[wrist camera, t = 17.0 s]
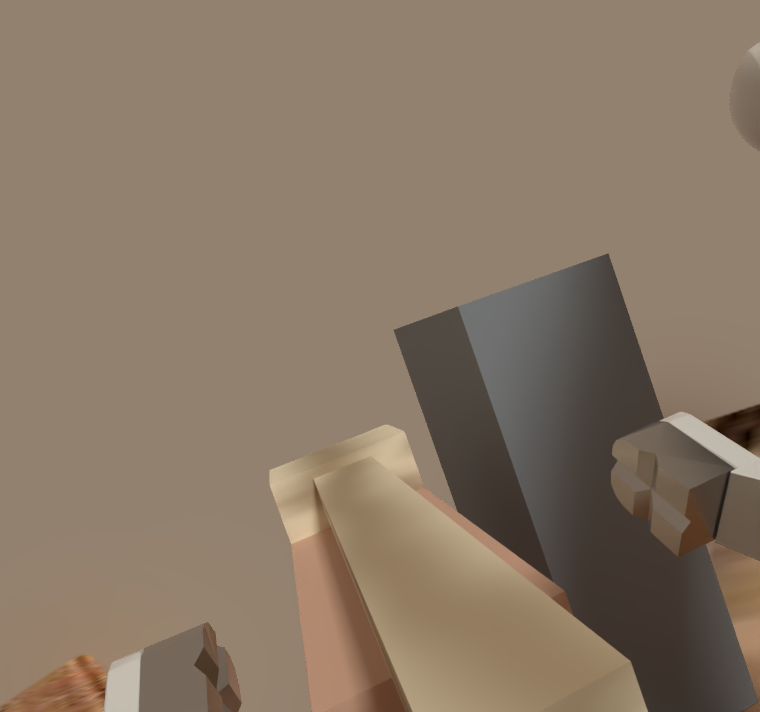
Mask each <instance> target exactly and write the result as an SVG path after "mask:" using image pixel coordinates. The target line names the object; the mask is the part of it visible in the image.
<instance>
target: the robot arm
mask: <svg viewBox="0 0 760 712" xmlns="http://www.w3.org/2000/svg"><path fill="white" fill-rule="evenodd" d="M730 110H731V116H732V119H733V122H734V125H735V127H736V129H737V130H738V132H739V133H740V135H741V136H742V138H743V139H744V140H746V142H747V143H748V144H749V145H751V146H752V147H753V148H755V149H757V150H758V151H760V42H759V43H758V44H756V45H755V46H753V47H752V48H751V49H749V50H748V51H747V52H746V53H745V55H744V57H743V58H742V60H741V62H740V64H739V66H738V68H737V70H736V73H735V75H734V78H733V82H732V86H731V92H730ZM612 456H614V457H615V458H616V459H617V460H618V461H617V462H616V464H615V466H614V467H613V469H612V471H611V485H612V487H613V490H614V492H615V495H616V497H617V498H618V500H619V501H620V502H621V504H622V505H623V506H624V507H625V508H626V509H627V510H628V511H629V512H630V513H631V514H632V515H634V516H637V517H640V518H643V519H646V520H648V523H649V528H650V532H651V533H652V534H653V535H655V536H656V537H657V538H658V539H659V540H660V541H661V542H662V543H663V544H664V545H665V546H667V547H668V548H669V549H670V550H671V551H672V552H673V553H674V554H675V555H676V556H677V557H679V556H681V555H683V554H686V553H688V552H690V551H692V550H694V549H696V548H698V547H700V546H702V545H705V544H707V543H709V542H711V541H713V540H715V539H716V541H715V542H716V543H718V544H721V545H723V546H726V547H728V548H730V549H733V550H735V551H737V552H740V553H742V554H745V555H747V556H749V557H752V558H754V559H756V560H759V561H760V458H758V457H757V456H755V455H754V454H752V453H750V452H749V451H747V450H746V449H744V448H743V447H741V446H739V445H738V444H736V443H735V442H733V441H732V440H730V439H728V438H727V437H725V436H724V435H722V434H720V433H719V432H717V431H716V430H714V429H713V428H711V427H709V426H708V425H706V424H705V423H703V422H702V421H700V420H698V419H697V418H695V417H694V416H692V415H691V414H688V413H685V412H678V413H676V414H673V415H671V416H669V417H667V418H664V419H662V420H660V421H658V422H654V423H652V424H650V425H647V426H645V427H643V428H641V429H639V430H637V431H634V432H632V433H630V434H628V435H626V436H624V437H621V438H619V439H617V440H616V441H615V443H614V444H613V448H612ZM240 706H241V696H240V689H239V684H238V679H237V675H236V672H235V668H234V665H233V663H232V660H231V658H230V656H229V654H228V652H227V651H226V649H225V648H224V647H219V646H217V644H216V635H215V632H214V630H213V629H212V627H211V626H210V625H209V623H208V622H207V623H204V624H202V625H200V626H197V627H195V628H192V629H190V630H188V631H185V632H183V633H180V634H178V635H175V636H173V637H171V638H168V639H166V640H163V641H161V642H158V643H156V644H153V645H151V646H149V647H147V648H144V649H142V650H139V651H137V652H135V653H132V654H130V655H128V656H125V657H123V658H121V659H119V660H116V661H114V662H112V664H111V667H110V669H109V672H108V674H107V683H106V693H105V703H104V712H238V711H239V708H240Z"/></svg>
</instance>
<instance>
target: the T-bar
mask: <svg viewBox="0 0 760 712" xmlns="http://www.w3.org/2000/svg"><path fill="white" fill-rule="evenodd" d="M270 487H271V490H272V493H273V495H274V498H275V501H276V504H277V506H278V509H279V512H280V515H281V517H282V520H283V523H284V525H285V528H286V531H287V534H288V536H289V539H290V542H291V544H293V543H295V542H297V541H300V540H302V539H304V538H307V537H309V536H312V535H314V534H316V533H319V532H321V531H323V530H326V529H328V528H330V527H331V529H332V531H333V534H334V536H335V539H336V541H337V544H338V546H339V549H340V551H341V554H342V556H343V559H344V561H345V563H346V566H347V568H348V571H349V573H350V576H351V578H352V581H353V583H354V586H355V588H356V591H357V593H358V595H359V598H360V600H361V603H362V605H363V608H364V610H365V613H366V615H367V618H368V620H369V623H370V625H371V628H372V630H373V632H374V635H375V637H376V640H377V642H378V645H379V647H380V650H381V652H382V655H383V657H384V660H385V662H386V664H387V667H388V669H389V672H390V674H391V677H392V679H393V682H394V684H395V687H396V689H397V692H398V694H399V696H400V699H401V701H402V704H403V706H404V709H405V711H406V712H648V710H647V708H646V705H645V702H644V699H643V696H642V693H641V690H640V687H639V684H638V681H637V678H636V675H635V673H634V670H633V667H632V664H631V661H630V660H629V659H627V658H626V657H625V656H623V655H622V654H621V653H620V652H618V651H617V650H616V649H615V648H613V647H612V646H611V645H610V644H608V643H607V642H606V641H604V640H603V639H602V638H601V637H599V636H598V635H597V634H596V633H594V632H593V631H592V630H591V629H589V628H588V627H587V626H586V625H584V624H583V623H582V622H580V621H579V620H578V619H577V618H575V617H574V616H573V615H572V614H570V613H569V612H568V611H567V610H565V609H564V608H563V607H561V606H560V605H559V604H558V603H556V602H555V601H554V600H553V599H551V598H550V597H549V596H548V595H546V594H545V593H544V592H543V591H541V590H540V589H539V588H537V587H536V586H535V585H534V584H532V583H531V582H530V581H529V580H527V579H526V578H525V577H524V576H522V575H521V574H520V573H518V572H517V571H516V570H515V569H513V568H512V567H511V566H510V565H508V564H507V563H506V562H505V561H503V560H502V559H501V558H500V557H498V556H497V555H496V554H494V553H493V552H492V551H491V550H489V549H488V548H487V547H486V546H484V545H483V544H482V543H481V542H479V541H478V540H477V539H476V538H474V537H473V536H472V535H470V534H469V533H468V532H467V531H465V530H464V529H463V528H462V527H460V526H459V525H458V524H457V523H455V522H454V521H453V520H451V519H450V518H449V517H448V516H446V515H445V514H444V513H443V512H441V511H440V510H439V509H438V508H436V507H435V506H434V505H433V504H431V503H430V502H429V501H427V500H426V499H425V498H424V497H422V496H421V495H420V494H419V493H417V492H416V491H417V490H419V489H422V488H424V486H423V483H422V480H421V477H420V474H419V471H418V469H417V466H416V463H415V461H414V457H413V454H412V452H411V449H410V446H409V443H408V440H407V438H406V435H405V432H404V431H402V430H399V429H397V428H395V427H392V426H390V425H388V424H386V425H384V426H381V427H379V428H376V429H373V430H371V431H368V432H366V433H363V434H361V435H358V436H356V437H353V438H351V439H348V440H345V441H343V442H340V443H338V444H335V445H333V446H330V447H328V448H325V449H323V450H320V451H318V452H315V453H312V454H310V455H307V456H305V457H302V458H300V459H297V460H294V461H292V462H289V463H287V464H285V465H282V466H279V467H277V468H274V469H272V470H270Z"/></svg>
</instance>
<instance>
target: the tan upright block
mask: <svg viewBox="0 0 760 712" xmlns="http://www.w3.org/2000/svg"><path fill="white" fill-rule="evenodd" d="M416 492H417V493H419V494H420V495H421V496H422V497H424V498H425V499H426V500H427V501H429V502H430V503H431V504H433V505H434V506H435V507H436V508H438V509H439V510H440V511H441V512H443V513H444V514H445V515H446V516H448V517H449V518H450V519H451V520H453V521H454V522H455V523H457V524H458V525H459V526H460V527H462V528H463V529H464V530H465V531H467V532H468V533H469V534H470V535H472V536H473V537H474V538H476V539H477V540H478V541H479V542H481V543H482V544H483V545H484V546H486V547H487V548H488V549H489V550H491V551H492V552H493V553H494V554H496V555H497V556H498V557H500V558H501V559H502V560H503V561H505V562H506V563H507V564H508V565H510V566H511V567H512V568H513V569H515V570H516V571H517V572H518V573H520V574H521V575H522V576H524V577H525V578H526V579H527V580H529V581H530V582H531V583H532V584H534V585H535V586H536V587H537V588H539V589H540V590H541V591H543V592H544V593H545V594H546V595H548V596H549V597H550V598H551V599H553V600H554V601H555V602H556V603H558V604H559V605H560V606H561V607H563V608H564V609H565V610H567V611H568V612H569V613H570V614H572V615H573V613H572V610H571V607H570V604H569V601H568V598H567V595H566V593H565V591H564V590H563V589H562V588H560V587H559V586H557V585H556V584H555V583H553V582H552V581H551V580H549V579H548V578H547V577H545V576H544V575H543V574H541V573H540V572H538V571H537V570H536V569H534V568H533V567H532V566H530V565H529V564H528V563H526V562H525V561H524V560H522V559H521V558H519V557H518V556H517V555H515V554H514V553H513V552H511V551H510V550H509V549H507V548H506V547H505V546H503V545H502V544H500V543H499V542H498V541H496V540H495V539H494V538H492V537H491V536H490V535H488V534H487V533H486V532H484V531H483V530H481V529H480V528H479V527H477V526H476V525H475V524H473V523H472V522H471V521H469V520H468V519H467V518H465V517H464V516H462V515H461V514H460V513H458V512H457V511H456V510H454V509H453V508H452V507H450V506H449V505H448V504H446V503H445V502H443V501H442V500H441V499H439V498H438V497H437V496H435V495H434V494H433V493H431V492H430V491H429V490H427V489H426V488H422V489H419V490H417V491H416ZM291 545H292V553H293V562H294V570H295V578H296V587H297V595H298V603H299V612H300V620H301V629H302V637H303V645H304V654H305V662H306V670H307V679H308V687H309V696H310V704H311V712H406V711H405V709H404V706H403V704H402V701H401V699H400V696H399V694H398V692H397V689H396V687H395V684H394V682H393V679H392V677H391V674H390V672H389V669H388V667H387V664H386V662H385V660H384V657H383V655H382V652H381V650H380V647H379V645H378V642H377V640H376V637H375V635H374V632H373V630H372V628H371V625H370V623H369V620H368V618H367V615H366V613H365V610H364V608H363V605H362V603H361V600H360V598H359V595H358V593H357V591H356V588H355V586H354V583H353V581H352V578H351V576H350V573H349V571H348V568H347V566H346V563H345V561H344V559H343V556H342V554H341V551H340V549H339V546H338V544H337V541H336V539H335V536H334V534H333V531H332V529H331V527H330V528H328V529H326V530H323V531H321V532H319V533H316V534H314V535H312V536H309V537H307V538H304V539H302V540H300V541H297V542H295V543H293V544H291Z"/></svg>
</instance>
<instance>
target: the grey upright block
mask: <svg viewBox="0 0 760 712" xmlns="http://www.w3.org/2000/svg"><path fill="white" fill-rule="evenodd" d="M394 332H395V335H396V338H397V341H398V343H399V346H400V349H401V352H402V355H403V358H404V360H405V364H406V366H407V369H408V372H409V375H410V378H411V380H412V383H413V386H414V389H415V392H416V394H417V398H418V400H419V403H420V406H421V409H422V412H423V414H424V417H425V420H426V423H427V426H428V429H429V432H430V434H431V437H432V440H433V443H434V446H435V449H436V452H437V454H438V457H439V460H440V463H441V465H442V469H443V471H444V474H445V477H446V480H447V483H448V486H449V488H450V491H451V494H452V497H453V500H454V502H455V505H456V508H457V511H458V513H460V514H461V515H462V516H464V517H465V518H467V519H468V520H469V521H471V522H472V523H473V524H475V525H476V526H477V527H479V528H480V529H481V530H483V531H484V532H486V533H487V534H488V535H490V536H491V537H492V538H494V539H495V540H496V541H498V542H499V543H500V544H502V545H503V546H505V547H506V548H507V549H509V550H510V551H511V552H513V553H514V554H515V555H517V556H518V557H519V558H521V559H522V560H524V561H525V562H526V563H528V564H529V565H530V566H532V567H533V568H534V569H536V570H537V571H538V572H540V573H541V574H543V575H544V576H545V577H547V578H548V579H549V580H551V581H552V582H553V583H555V584H556V585H557V586H559V587H560V588H562V589H563V590H564V591H565V593H566V595H567V598H568V601H569V604H570V607H571V610H572V613H573V616H574V617H575V618H577V619H578V620H579V621H580V622H582V623H583V624H584V625H586V626H587V627H588V628H589V629H591V630H592V631H593V632H594V633H596V634H597V635H598V636H599V637H601V638H602V639H603V640H604V641H606V642H607V643H608V644H610V645H611V646H612V647H613V648H615V649H616V650H617V651H618V652H620V653H621V654H622V655H623V656H625V657H626V658H627V659H629V660H630V661H631V664H632V667H633V670H634V673H635V675H636V678H637V681H638V684H639V687H640V690H641V693H642V696H643V699H644V702H645V705H646V708H647V710H648V712H742V711H743V710H745V709H747V708H748V707H750V706H752V705H753V704H755V703H757V702H758V699H757V696H756V693H755V690H754V687H753V684H752V681H751V678H750V675H749V672H748V669H747V666H746V663H745V660H744V657H743V654H742V651H741V648H740V645H739V642H738V639H737V636H736V633H735V630H734V627H733V624H732V621H731V618H730V615H729V612H728V609H727V606H726V603H725V600H724V597H723V594H722V591H721V589H720V586H719V583H718V580H717V577H716V574H715V571H714V568H713V565H712V562H711V559H710V556H709V553H708V550H707V547H706V544H705V545H702V546H700V547H698V548H696V549H694V550H692V551H690V552H688V553H686V554H683V555H681V556H679V557H677V556H676V555H675V554H674V553H673V552H672V551H671V550H670V549H669V548H668V547H667V546H665V545H664V544H663V543H662V542H661V541H660V540H659V539H658V538H657V537H656V536H655V535H653V534H652V533H651V532H650V528H649V523H648V520H646V519H643V518H640V517H637V516H634V515H632V514H631V513H630V512H629V511H628V510H627V509H626V508H625V507H624V506H623V505H622V504H621V502H620V501H619V500H618V498H617V497H616V495H615V492H614V490H613V487H612V485H611V471H612V469H613V467H614V466H615V464H616V462H617V461H618V460H617V459H616V458H615V457H614V456H612V448H613V444H614V443H615V441H616V440H617V439H619V438H621V437H624V436H626V435H628V434H630V433H632V432H634V431H637V430H639V429H641V428H643V427H645V426H647V425H650V424H652V423H654V422H658V421H660V420H662V419H664V418H663V415H662V412H661V409H660V406H659V403H658V400H657V398H656V395H655V392H654V388H653V385H652V382H651V379H650V377H649V373H648V370H647V367H646V365H645V362H644V359H643V356H642V353H641V350H640V347H639V344H638V341H637V338H636V335H635V332H634V329H633V326H632V323H631V320H630V317H629V314H628V311H627V308H626V305H625V302H624V299H623V296H622V293H621V290H620V287H619V284H618V281H617V278H616V275H615V272H614V269H613V266H612V263H611V260H610V257H609V254H606V255H603V256H600V257H597V258H594V259H591V260H588V261H586V262H583V263H580V264H577V265H574V266H572V267H569V268H566V269H563V270H560V271H557V272H554V273H552V274H549V275H546V276H543V277H540V278H538V279H535V280H532V281H529V282H526V283H523V284H521V285H518V286H515V287H512V288H509V289H506V290H503V291H501V292H498V293H495V294H492V295H489V296H487V297H484V298H481V299H478V300H475V301H472V302H469V303H467V304H464V305H461V306H459V307H455V308H453V309H450V310H447V311H444V312H442V313H439V314H436V315H433V316H431V317H428V318H425V319H423V320H420V321H417V322H414V323H412V324H409V325H406V326H403V327H401V328H398V329H395V330H394Z"/></svg>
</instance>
